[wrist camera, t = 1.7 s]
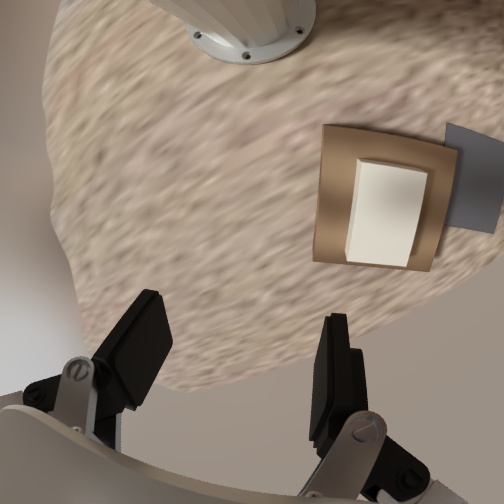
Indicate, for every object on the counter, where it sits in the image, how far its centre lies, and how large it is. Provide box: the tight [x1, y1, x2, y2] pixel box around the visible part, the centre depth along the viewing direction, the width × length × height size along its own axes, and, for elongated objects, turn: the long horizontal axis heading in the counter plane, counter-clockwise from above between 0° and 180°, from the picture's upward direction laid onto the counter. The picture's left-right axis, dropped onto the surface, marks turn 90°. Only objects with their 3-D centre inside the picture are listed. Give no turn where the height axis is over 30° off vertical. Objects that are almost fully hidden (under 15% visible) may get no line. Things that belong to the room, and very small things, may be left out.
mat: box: [443, 123, 504, 234], centre depth 22 cm, size 11×10×1 cm
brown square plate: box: [313, 125, 458, 272], centre depth 24 cm, size 13×13×3 cm
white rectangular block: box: [345, 158, 427, 267], centre depth 23 cm, size 9×6×2 cm, turn 0°
